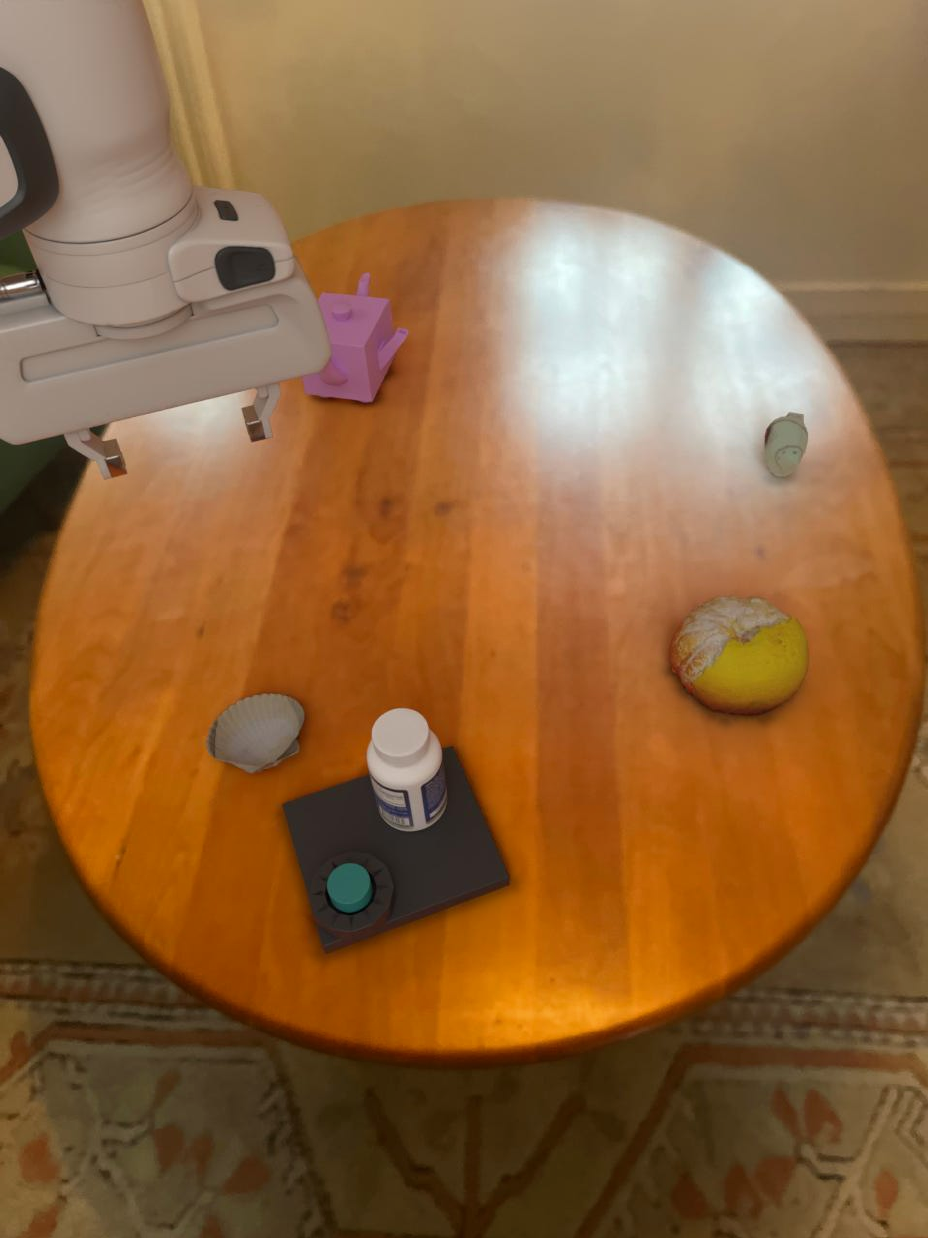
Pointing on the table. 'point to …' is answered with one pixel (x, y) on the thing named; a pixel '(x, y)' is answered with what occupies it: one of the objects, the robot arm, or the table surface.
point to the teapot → (356, 345)
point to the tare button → (349, 887)
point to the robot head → (785, 443)
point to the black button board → (392, 856)
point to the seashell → (257, 732)
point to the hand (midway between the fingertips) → (188, 452)
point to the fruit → (740, 655)
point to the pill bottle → (407, 770)
